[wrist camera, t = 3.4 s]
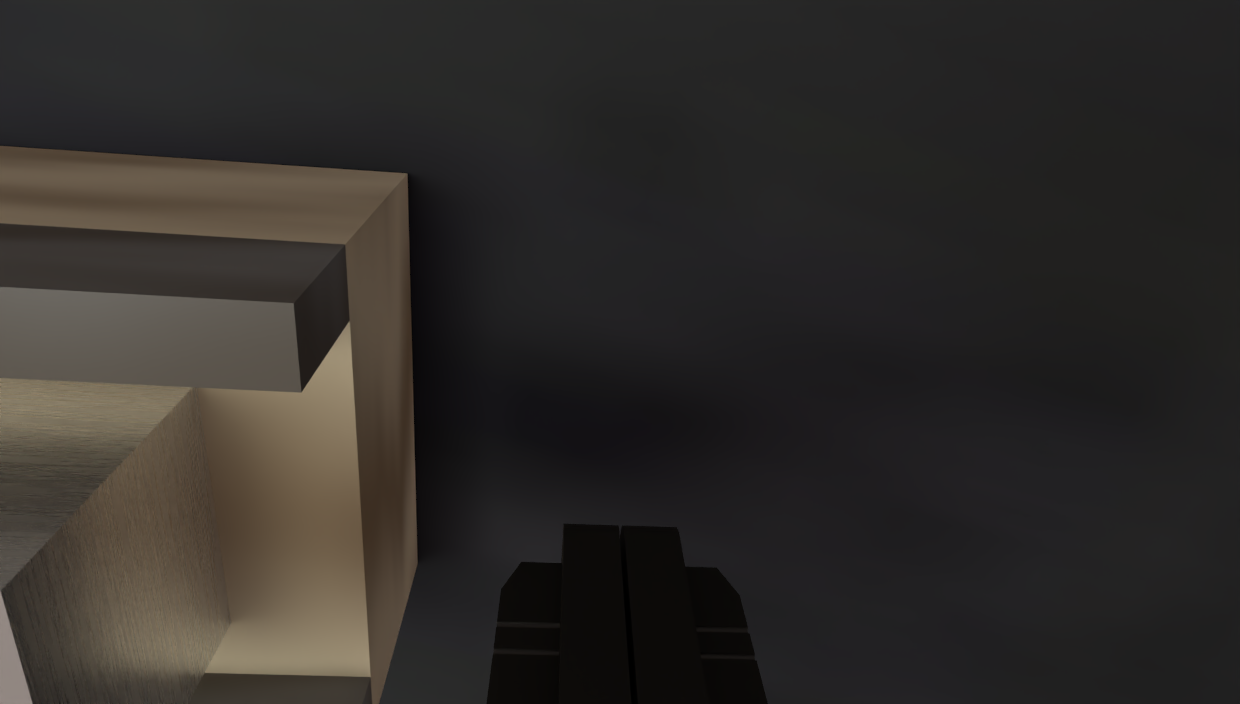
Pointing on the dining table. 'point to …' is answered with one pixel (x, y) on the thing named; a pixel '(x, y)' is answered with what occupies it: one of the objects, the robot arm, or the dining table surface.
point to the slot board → (245, 379)
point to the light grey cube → (106, 544)
